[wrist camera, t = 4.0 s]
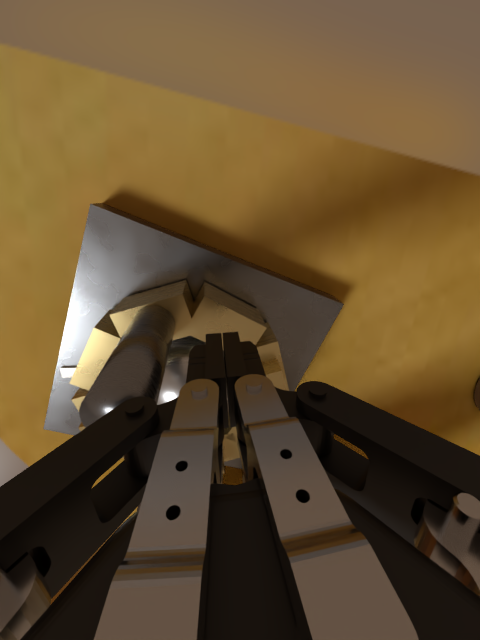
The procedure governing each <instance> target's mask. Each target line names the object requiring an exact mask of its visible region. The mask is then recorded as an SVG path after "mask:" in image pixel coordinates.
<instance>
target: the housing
mask: <svg viewBox="0 0 480 640" xmlns="http://www.w3.org/2000/svg"><path fill="white" fill-rule="evenodd" d="M184 280H186V281H187V284H188V287H189V290H190V293H191V295H192V298H193V301H195V299H196V297H197V295H198V293H199V291H200V290H201V288H202V286H203V284H204V282H206V283H208V284H210V285H212V286H214V287H215V288H217V289H219V290H221V291H223V292H225V293H227V294H229V295H231V296H233V297H235V298H237V299H238V300H240V301H242V302H244V303H246V304H248V305H250V306H252V307H254V308H256V309H258V310H259V312H260V314H261V316H262V318H263V321H264V323H267V322H268V323H269V325H270V327H271V329H272V331H273V333H274V335H275V337H276V339H277V341H278V344H279V349H280V353H281V357H282V362H283V366H284V370H285V375H286V379H287V384H288V388H289V391H294V390H295V389H296V387H297V385H298V383H299V382H300V380H301V378H302V376H303V375H304V373H305V371H306V369H307V368H308V366H309V364H310V363H311V361H312V359H313V357H314V356H315V354H316V352H317V350H318V349H319V347H320V345H321V343H322V342H323V340H324V338H325V336H326V335H327V333H328V331H329V329H330V328H331V326H332V324H333V323H334V321H335V319H336V317H337V316H338V314H339V312H340V310H341V309H342V307H343V305H344V304H343V303H341V302H340V301H339V300H338V299H336V298H335V297H334V296H332V295H330V294H327V293H325V292H322V291H320V290H317V289H315V288H312V287H310V286H307V285H305V284H302V283H300V282H297V281H295V280H292V279H290V278H287V277H285V276H282V275H280V274H277V273H275V272H272V271H270V270H267V269H265V268H262V267H260V266H257V265H255V264H252V263H250V262H247V261H245V260H242V259H240V258H237V257H235V256H232V255H230V254H227V253H225V252H222V251H220V250H217V249H215V248H212V247H210V246H207V245H205V244H202V243H200V242H197V241H195V240H192V239H190V238H188V237H185V236H183V235H180V234H178V233H175V232H173V231H170V230H168V229H165V228H163V227H160V226H158V225H155V224H153V223H150V222H148V221H145V220H143V219H140V218H138V217H135V216H133V215H130V214H128V213H125V212H123V211H120V210H118V209H115V208H113V207H110V206H108V205H105V204H103V203H96V204H90V208H89V213H88V218H87V223H86V227H85V232H84V237H83V242H82V247H81V251H80V256H79V261H78V266H77V271H76V276H75V280H74V285H73V290H72V295H71V300H70V304H69V309H68V314H67V319H66V324H65V328H64V333H63V338H62V343H61V348H60V352H59V357H58V362H57V367H56V372H55V376H54V381H53V386H52V391H51V396H50V400H49V405H48V410H47V415H46V420H45V425H44V429H46V430H51V431H56V432H61V433H66V434H71V435H76V434H78V433H79V432H81V431H80V430H79V428H78V427H79V426H80V424H81V419H80V415H79V411H78V409H77V408H76V406H75V405H74V403H73V402H72V400H71V399H72V398H73V396H74V395H75V393H76V392H77V390H78V389H79V387H78V386H75V385H72V384H69V383H70V381H71V379H72V376H73V374H74V372H75V370H76V367H77V365H78V363H79V360H80V358H81V356H82V353H83V351H84V349H85V347H86V344H87V342H88V340H89V337H90V335H91V333H92V331H93V328H94V327H95V326H96V324H97V323H98V322H99V321H100V320H101V319H102V318H103V316H104V315H105V314H106V313H107V312H108V311H109V309H112V310H114V309H115V307H116V306H117V305H118V304H119V303H120V301H121V300H122V299H123V298H124V297H127V296H131V295H135V294H138V293H142V292H145V291H149V290H152V289H156V288H159V287H163V286H166V285H170V284H173V283H177V282H180V281H184ZM195 345H206V342H204V341H201V340H199V339H197V338H195V337H193V336H187V337H183V338H180V339H176V340H173V341H172V344H171V348H170V352H169V356H168V360H167V365H166V369H165V373H164V377H163V381H162V385H161V390H160V394H159V398H158V402H157V405H159V404H163V403H166V402H169V401H171V400H173V399H175V398H177V397H178V396H179V392H180V389H181V388H182V387H183V386H184V385H185V384H186V378H187V369H188V360H189V352H190V350H191V349H192V348H193V347H194V346H195ZM223 355H224V351H223ZM226 390H227V387H226ZM227 406H228V397H227ZM228 414H229V407H228ZM224 465H225V466H230V467H235V468H240V469H243V468H242V464H241V459H240V458H236V459H233V460H229V461H226V462H224Z"/></svg>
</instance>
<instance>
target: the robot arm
mask: <svg viewBox="0 0 480 640" xmlns="http://www.w3.org/2000/svg"><path fill="white" fill-rule="evenodd" d="M223 350H224V355H223ZM226 387H227V390H226ZM227 397H228V406H227ZM474 400H475V404H476V406H477V408H478V409H479V410H480V379H479V381H478V383H477V385H476V389H475V392H474ZM228 407H229V417H230V427H236V431H237V445H238V450H239V454H240V459H241V464H242V468H243V473H244V478H245V483H242V484H240V485H226V484H222V480H223V440H224V428H229V421H228ZM334 434H336V435H338V436H340V437H341V438H343V439H345V440H346V441H348V442H350V443H351V444H353V445H355V446H356V447H358V448H360V449H361V450H362V451H363V452H364V453H365V454H366V455H367V457H368V459H369V460H368V459H366V458H365V457H363V456H361V455H360V454H358V453H357V452H355V451H353V450H352V449H350V448H348V447H347V446H345V445H343V444H342V443H340V442H338V441H337V440H335V439H333V437H334ZM123 456H124V459H125V460H124V461H123V462H122V463H121V464H119V465H118V466H117V467H116V468H115V469H114V470H113V471H112V472H110V473H109V474H108V475H107V476H106V477H105V478H104V479H102V480H101V481H100V482H99V483H98V484H97V485H96V486H94V487H93V488H92V486H93V484H94V483H95V481H96V480H97V479H98V478H99V477H100V476H101V475H102V474H103V473H105V472H106V471H107V470H108V469H109V468H110V467H112V466H113V465H114V464H115V463H116V462H117V461H118V460H120V459H121V458H122V457H123ZM91 488H92V489H91ZM140 503H141V506H140V509H139V510H138V511H137V512H136V513H134V514H133V515H132V516H130V517H129V518H128V519H127V520H126V521H125V522H124V523H123V521H124V520H125V519H126V518H127V517H128V516H129V515H130V514H131V513H132V512H133V511H134V510H135V509H136V507H137V506H138V505H139V504H140ZM122 523H123V524H122ZM121 524H122V525H121ZM120 525H121V526H120ZM119 526H120V527H119ZM118 527H119V528H118ZM117 528H118V529H117ZM116 529H117V530H116ZM115 530H116V531H115ZM114 531H115V533H114V534H113V535H112V536H111V537H110V538H109V536H110V535H111V534H112V533H113V532H114ZM108 538H109V539H108ZM107 539H108V540H107ZM106 540H107V541H106ZM105 541H106V543H105V544H104V545H103V546H102V547H101V548H100V549H99V551H98V552H97V553H96V554H95V555H94V556H93V557H92V559H91V560H90V561H89V562H88V563H87V564H86V565H85V566H84V568H83V569H82V570H81V571H80V572H79V573H78V575H77V576H76V577H75V578H74V579H73V580H72V581H71V583H69V585H68V586H67V587H66V588H65V589H64V590H63V592H62V593H61V594H60V595H59V596H58V597H57V598H56V599H55V601H54V602H53V603H52V604H51V605H50V603H51V599H52V598H53V596H55V595H56V593H57V592H58V591H59V590H60V589H61V588H62V587H63V586H64V585H65V584H66V582H68V581H69V580H70V578H71V577H72V576H73V575H74V574H75V573H76V572H77V571H78V569H80V568H81V566H82V565H83V564H84V563H85V562H86V561H87V560H88V559H89V558H90V557H91V556H92V555H93V554H94V553H95V552H96V550H97V549H98V548H99V547H100V546H101V545H102V544H103V543H104V542H105ZM0 640H480V456H479V455H477V454H475V453H473V452H471V451H468V450H466V449H464V448H462V447H460V446H458V445H456V444H454V443H451V442H449V441H447V440H445V439H443V438H441V437H439V436H437V435H434V434H432V433H430V432H428V431H426V430H424V429H422V428H420V427H417V426H415V425H413V424H411V423H409V422H407V421H405V420H403V419H400V418H398V417H396V416H394V415H392V414H390V413H388V412H386V411H383V410H381V409H379V408H377V407H375V406H373V405H371V404H369V403H366V402H364V401H362V400H360V399H358V398H356V397H354V396H352V395H349V394H347V393H345V392H343V391H341V390H339V389H337V388H335V387H332V386H330V385H328V384H326V383H323V382H318V381H310V382H305V383H303V384H301V385H300V386H299V387H298V388H297V392H294V391H287V390H282V389H279V388H276V387H274V385H273V383H272V381H271V380H270V379H269V378H267V377H266V374H265V371H264V368H263V365H262V362H261V359H260V356H259V354H258V350H257V347H256V345H254V344H253V343H252V342H251V341H243V342H240V338H239V334H238V332H225V333H223V345H222V335H221V333H213V334H206V345H195V346H194V347H193V348H192V349H191V350H190V352H189V360H188V369H187V378H186V384H185V385H184V386H183V387H182V388H181V389H180V392H179V396H178V397H177V398H175V399H173V400H171V401H169V402H166V403H163V404H159V405H157V403H156V401H155V400H154V399H152V398H149V397H135V398H131V399H128V400H126V401H124V402H123V403H121V404H120V405H118V406H117V407H115V408H114V409H112V410H111V411H110V412H108V413H107V414H105V415H104V416H102V417H101V418H99V419H98V420H96V421H95V422H94V423H92V424H91V425H89V426H88V427H86V428H85V429H83V430H82V431H81V432H79V433H78V434H76V435H75V436H73V437H72V438H70V439H69V440H68V441H66V442H65V443H63V444H62V445H60V446H59V447H57V448H56V449H54V450H53V451H52V452H50V453H49V454H47V455H46V456H44V457H43V458H41V459H40V460H39V461H37V462H36V463H34V464H33V465H31V466H30V467H28V468H27V469H26V470H24V471H23V472H21V473H20V474H18V475H17V476H15V477H14V478H13V479H11V480H10V481H8V482H7V483H5V484H4V485H2V486H1V487H0Z"/></svg>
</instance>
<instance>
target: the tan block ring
mask: <svg viewBox="0 0 480 640" xmlns="http://www.w3.org/2000/svg"><path fill="white" fill-rule="evenodd" d="M225 332H238V334H239V338H240V342H243V341H251V342H252V343H253V344H254V345H256V347H257V350H258V354H259V356H260V359H261V362H262V365H263V368H264V371H265V374H266V377H267V378H269V379H270V380H271V381H272V383H273V385H274V387H276V388H279V389H282V390H287V391H289V388H288V384H287V379H286V375H285V370H284V366H283V362H282V357H281V353H280V349H279V344H278V341H277V339H276V337H275V335H274V333H273V331H272V329H271V327H270V325H269V323H268V322H267V323H264V321H263V318H262V316H261V314H260V312H259V310H258V309H256V308H254V307H252V306H250V305H248V304H246V303H244V302H242V301H240V300H238V299H237V298H235V297H233V296H231V295H229V294H227V293H225V292H223V291H221V290H219V289H217V288H215V287H214V286H212V285H210V284H208V283H206V282H204V284H203V286H202V288H201V290H200V291H199V293H198V295H197V297H196V299H195V301H193V298H192V295H191V293H190V290H189V287H188V284H187V281H186V280H184V281H180V282H177V283H173V284H170V285H166V286H163V287H159V288H156V289H152V290H149V291H145V292H142V293H138V294H135V295H131V296H127V297H124V298H123V299H122V300H121V301H120V303H119V304H118V305H117V306H116V307H115V309H114V310H112V309H109V311H108V312H107V313H106V314H105V315H104V316H103V318H102V319H101V320H100V321H99V322H98V323H97V324H96V326H95V327H94V328H93V331H92V333H91V335H90V337H89V340H88V342H87V344H86V347H85V349H84V351H83V353H82V356H81V358H80V360H79V363H78V365H77V367H76V370H75V372H74V374H73V376H72V379H71V381H70V383H69V384H72V385H75V386H78V387H79V389H78V390H77V392H76V393H75V395H74V396H73V398H72V399H71V400H72V402H73V403H74V405H75V406H76V408H77V409H78V411H79V415H80V419H81V424H80V426H79V427H78V428H79V430H80V431H82V430H83V429H85V428H86V427H88V426H89V425H91V424H92V423H94V422H95V421H96V420H98V419H99V418H101V417H102V416H104V415H105V414H107V413H108V412H110V411H111V410H112V409H114V408H115V407H117V406H118V405H120V404H121V403H123V402H124V401H126V400H128V399H131V398H135V397H149V398H152V399H154V400H155V401H156V403H157V402H158V398H159V394H160V390H161V385H162V381H163V377H164V373H165V369H166V365H167V360H168V356H169V352H170V348H171V344H172V341H173V340H176V339H180V338H183V337H187V336H193V337H195V338H197V339H199V340H201V341H204V342H206V334H213V333H221V335H222V345H223V333H225ZM223 351H224V350H223ZM228 421H229V428H224V440H223V474H224V473H225V469H224V462H226V461H229V460H233V459H236V458H240V454H239V450H238V445H237V431H236V427H230V417H229V414H228ZM122 458H124V456H123V457H122Z"/></svg>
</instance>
